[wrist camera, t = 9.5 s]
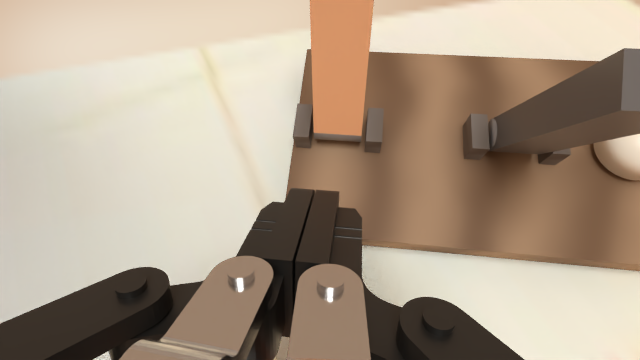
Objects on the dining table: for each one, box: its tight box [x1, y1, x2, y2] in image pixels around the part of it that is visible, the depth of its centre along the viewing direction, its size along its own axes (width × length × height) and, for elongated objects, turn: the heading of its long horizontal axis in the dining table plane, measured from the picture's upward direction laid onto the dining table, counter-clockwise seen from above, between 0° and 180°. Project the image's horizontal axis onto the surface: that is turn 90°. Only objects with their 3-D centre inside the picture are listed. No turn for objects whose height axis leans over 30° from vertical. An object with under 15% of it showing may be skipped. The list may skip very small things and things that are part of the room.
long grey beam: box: [488, 48, 640, 154], centre depth 17 cm, size 3×2×12 cm, turn 84°
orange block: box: [310, 0, 374, 142], centre depth 19 cm, size 3×2×12 cm, turn 84°
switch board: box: [286, 49, 640, 271], centre depth 23 cm, size 24×14×4 cm, turn 84°
